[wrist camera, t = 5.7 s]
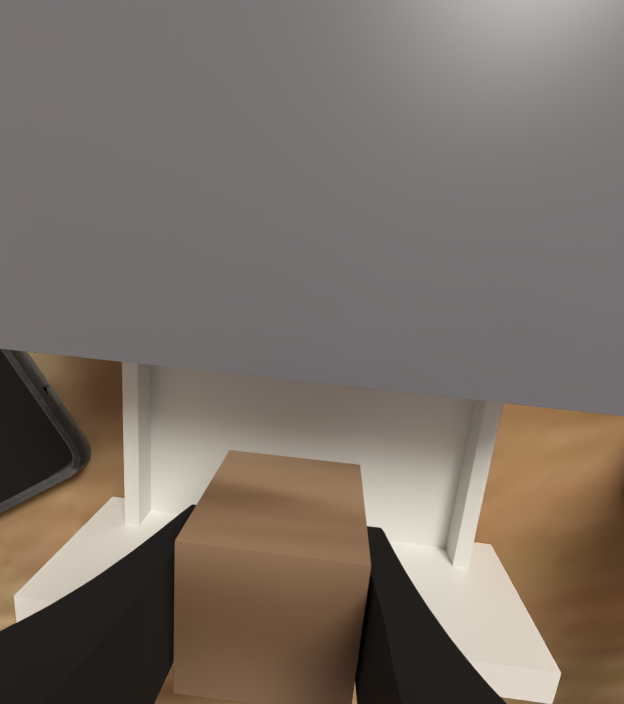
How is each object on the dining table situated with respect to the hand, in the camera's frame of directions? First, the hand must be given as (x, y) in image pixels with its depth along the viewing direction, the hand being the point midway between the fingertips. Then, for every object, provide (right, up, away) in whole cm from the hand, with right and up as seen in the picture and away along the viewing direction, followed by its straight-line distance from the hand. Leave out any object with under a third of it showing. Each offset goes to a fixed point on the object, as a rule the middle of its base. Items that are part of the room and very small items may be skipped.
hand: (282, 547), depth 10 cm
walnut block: (0, 0, +2) cm, 2 cm away
